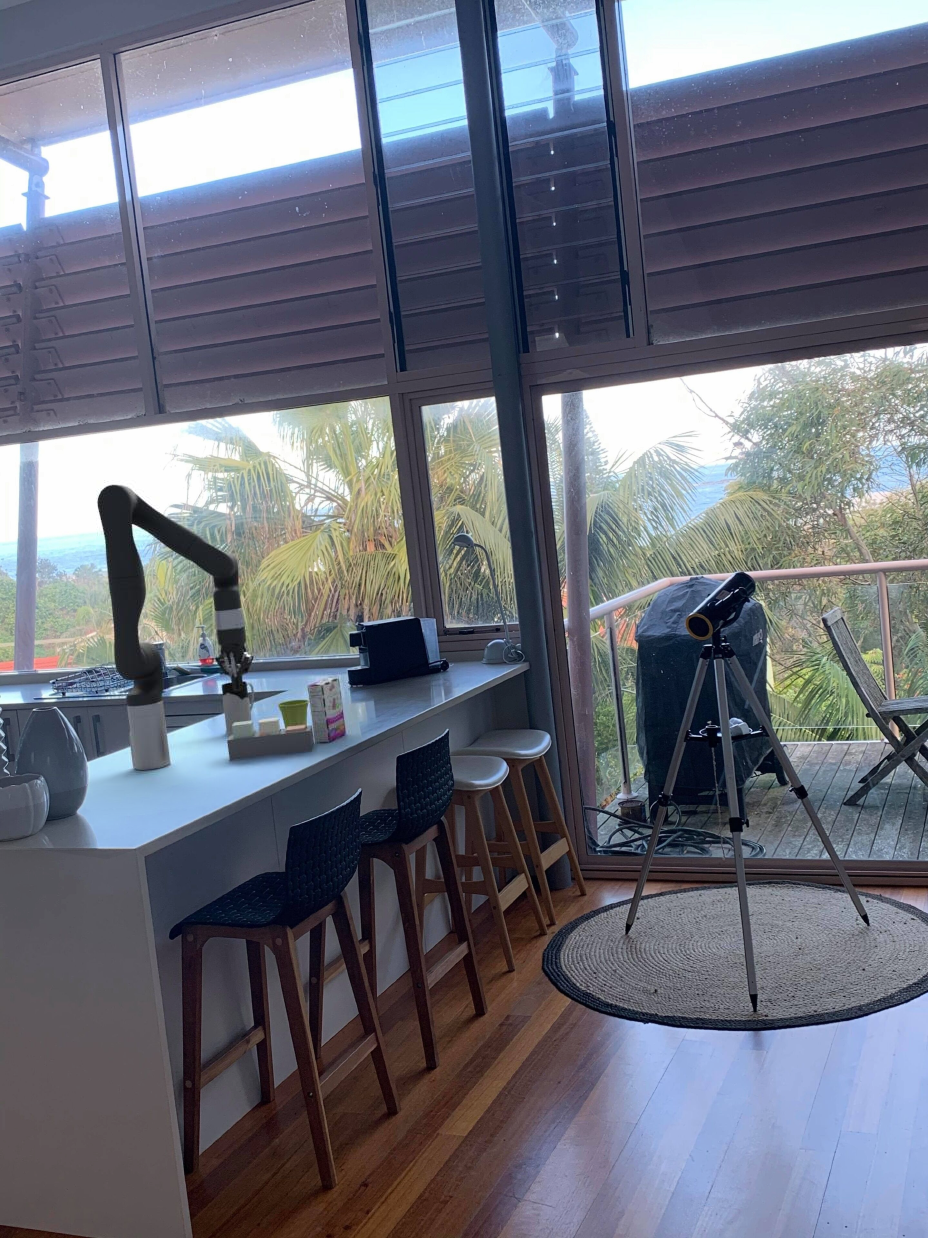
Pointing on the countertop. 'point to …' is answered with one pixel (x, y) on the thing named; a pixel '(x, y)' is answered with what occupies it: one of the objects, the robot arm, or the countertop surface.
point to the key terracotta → (296, 728)
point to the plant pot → (294, 712)
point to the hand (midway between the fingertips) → (238, 690)
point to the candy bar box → (326, 710)
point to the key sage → (243, 729)
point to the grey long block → (270, 744)
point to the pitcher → (236, 705)
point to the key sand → (269, 726)
